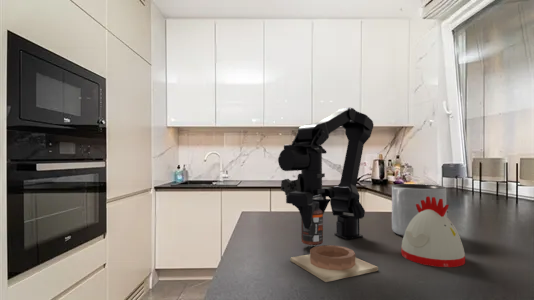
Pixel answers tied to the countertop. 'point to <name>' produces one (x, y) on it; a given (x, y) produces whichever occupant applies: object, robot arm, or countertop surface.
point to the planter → (412, 202)
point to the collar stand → (333, 263)
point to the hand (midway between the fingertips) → (312, 226)
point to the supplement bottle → (313, 228)
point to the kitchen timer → (432, 237)
